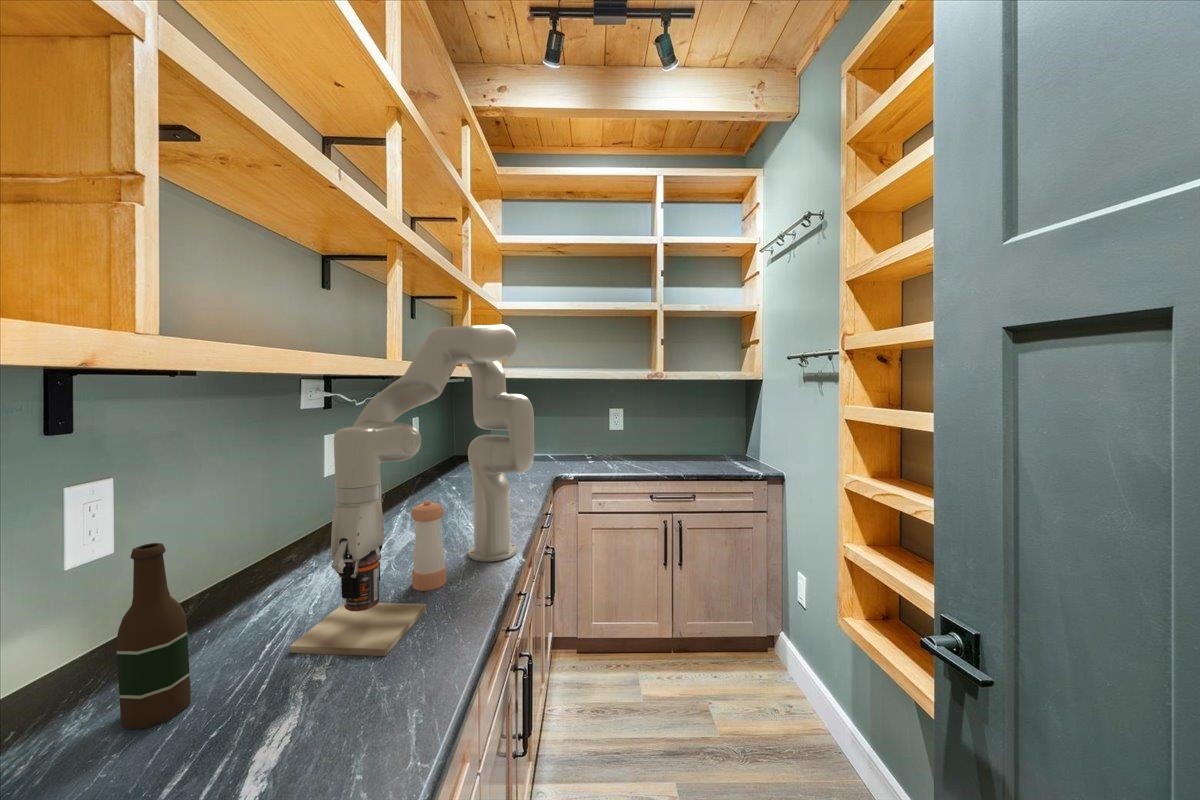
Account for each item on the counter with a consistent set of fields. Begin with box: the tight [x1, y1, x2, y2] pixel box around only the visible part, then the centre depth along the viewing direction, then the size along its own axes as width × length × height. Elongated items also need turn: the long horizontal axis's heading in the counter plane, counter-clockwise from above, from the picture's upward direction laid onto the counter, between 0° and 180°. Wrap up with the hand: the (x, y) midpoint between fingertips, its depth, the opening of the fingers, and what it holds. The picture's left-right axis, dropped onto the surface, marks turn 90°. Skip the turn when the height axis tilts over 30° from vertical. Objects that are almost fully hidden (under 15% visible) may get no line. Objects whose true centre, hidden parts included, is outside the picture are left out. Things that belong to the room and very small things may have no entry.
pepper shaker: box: [410, 499, 447, 592], centre depth 109 cm, size 7×7×19 cm
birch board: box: [289, 602, 427, 657], centre depth 90 cm, size 16×17×1 cm
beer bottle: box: [116, 542, 192, 730], centre depth 68 cm, size 8×8×24 cm
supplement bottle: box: [343, 551, 380, 612], centre depth 90 cm, size 6×6×11 cm
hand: (361, 588), depth 90 cm, fingers closed on supplement bottle, 6 cm apart
